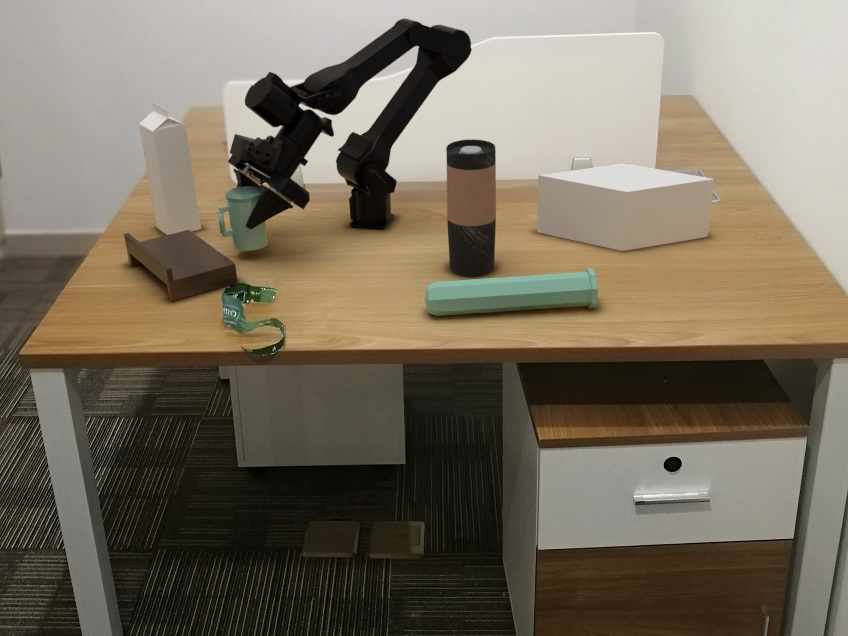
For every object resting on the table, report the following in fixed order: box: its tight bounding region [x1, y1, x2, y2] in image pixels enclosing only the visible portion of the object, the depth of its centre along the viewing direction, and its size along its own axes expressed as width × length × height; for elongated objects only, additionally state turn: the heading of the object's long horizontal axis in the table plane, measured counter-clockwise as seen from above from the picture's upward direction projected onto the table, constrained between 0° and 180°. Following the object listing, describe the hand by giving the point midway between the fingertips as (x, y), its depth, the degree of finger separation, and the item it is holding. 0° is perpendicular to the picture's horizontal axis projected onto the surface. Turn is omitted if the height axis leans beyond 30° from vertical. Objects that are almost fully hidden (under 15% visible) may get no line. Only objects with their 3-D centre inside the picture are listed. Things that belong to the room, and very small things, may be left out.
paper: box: [536, 162, 715, 252], centre depth 172 cm, size 14×29×10 cm, turn 83°
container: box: [424, 267, 599, 317], centre depth 149 cm, size 6×6×25 cm
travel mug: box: [445, 138, 497, 278], centre depth 159 cm, size 8×8×20 cm
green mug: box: [216, 186, 269, 252], centre depth 167 cm, size 8×6×9 cm
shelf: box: [123, 230, 239, 303], centre depth 163 cm, size 11×18×5 cm, turn 36°
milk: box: [138, 101, 202, 236], centre depth 176 cm, size 6×6×22 cm
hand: (239, 222), depth 167 cm, fingers closed on green mug, 6 cm apart
